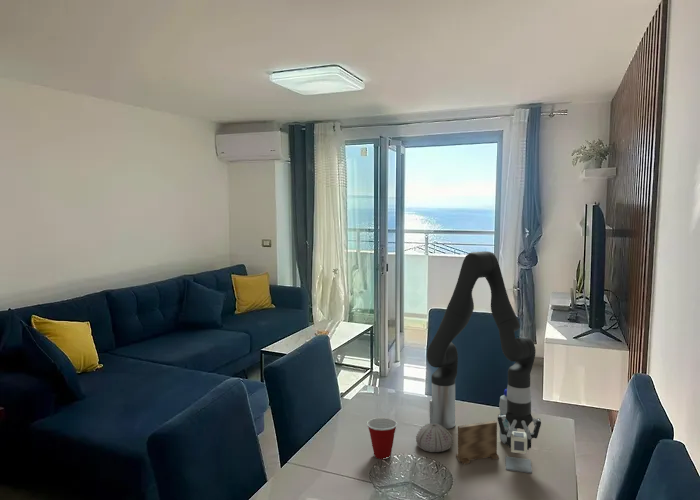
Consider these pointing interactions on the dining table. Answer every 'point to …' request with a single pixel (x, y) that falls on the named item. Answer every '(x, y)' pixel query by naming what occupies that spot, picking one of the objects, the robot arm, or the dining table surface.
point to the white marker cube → (519, 442)
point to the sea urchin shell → (434, 438)
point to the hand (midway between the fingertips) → (518, 447)
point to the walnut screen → (477, 441)
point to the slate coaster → (518, 464)
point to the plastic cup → (382, 436)
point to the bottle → (503, 412)
